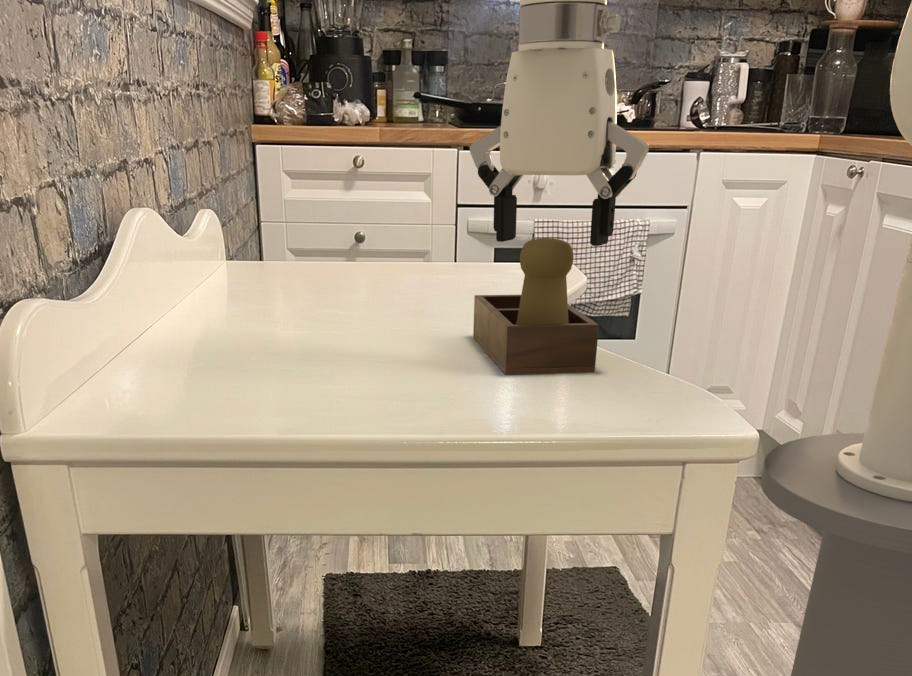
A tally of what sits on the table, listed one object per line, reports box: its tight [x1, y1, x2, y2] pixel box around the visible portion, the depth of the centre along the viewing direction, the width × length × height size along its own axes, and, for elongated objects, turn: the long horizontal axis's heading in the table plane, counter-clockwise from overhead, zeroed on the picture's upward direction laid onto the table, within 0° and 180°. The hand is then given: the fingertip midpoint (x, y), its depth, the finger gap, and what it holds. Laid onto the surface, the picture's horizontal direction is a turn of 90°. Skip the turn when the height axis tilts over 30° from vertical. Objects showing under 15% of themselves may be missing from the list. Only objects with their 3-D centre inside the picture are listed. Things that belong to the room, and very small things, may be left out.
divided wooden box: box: [472, 294, 600, 376], centre depth 100 cm, size 17×9×5 cm, turn 8°
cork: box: [516, 237, 575, 325], centre depth 95 cm, size 6×6×11 cm
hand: (551, 242), depth 92 cm, fingers open, 9 cm apart
